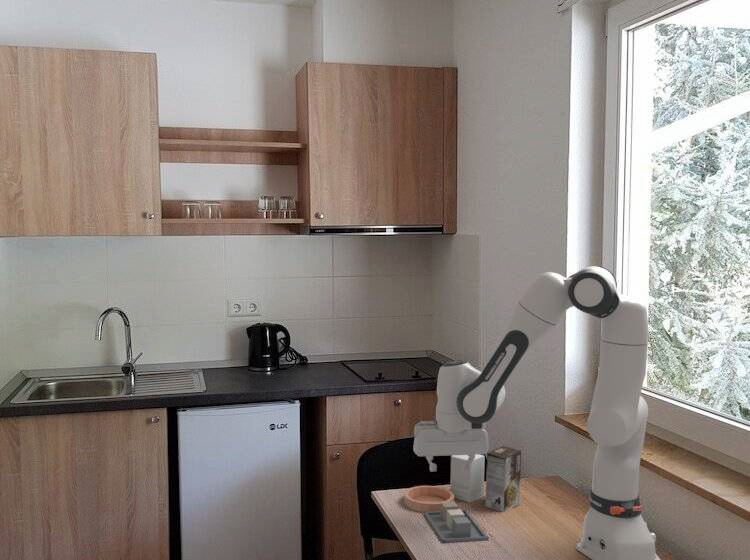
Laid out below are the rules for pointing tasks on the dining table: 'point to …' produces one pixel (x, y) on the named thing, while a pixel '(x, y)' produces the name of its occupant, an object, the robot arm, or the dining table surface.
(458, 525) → the grey cube
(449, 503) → the cube
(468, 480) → the supplement box
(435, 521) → the tray
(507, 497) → the coffee box
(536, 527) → the dining table surface
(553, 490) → the dining table surface
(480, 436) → the robot arm
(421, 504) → the bowl
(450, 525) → the beige cube
